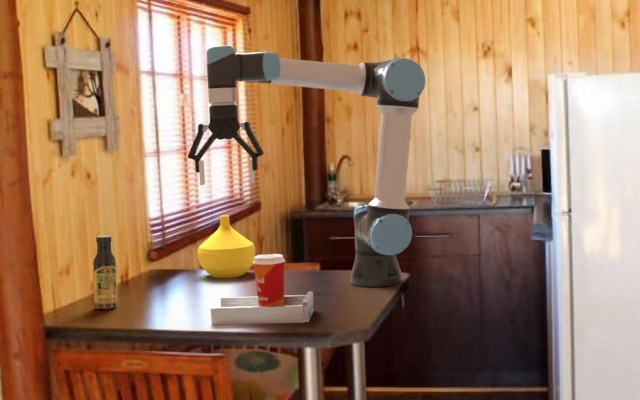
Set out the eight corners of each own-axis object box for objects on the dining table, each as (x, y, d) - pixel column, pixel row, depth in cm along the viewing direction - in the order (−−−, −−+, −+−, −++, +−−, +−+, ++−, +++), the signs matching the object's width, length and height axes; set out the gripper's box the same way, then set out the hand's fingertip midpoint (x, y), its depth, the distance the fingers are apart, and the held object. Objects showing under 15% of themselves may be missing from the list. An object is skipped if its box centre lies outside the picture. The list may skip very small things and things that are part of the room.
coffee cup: (255, 312, 241) (251, 254, 239) (287, 310, 242) (284, 252, 240) (255, 319, 233) (252, 259, 231) (288, 317, 233) (285, 257, 232)
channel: (313, 310, 243) (312, 291, 242) (308, 322, 230) (307, 302, 229) (222, 312, 245) (221, 293, 245) (211, 324, 232) (210, 304, 231)
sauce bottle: (97, 311, 253) (92, 238, 251) (92, 307, 259) (87, 236, 257) (121, 308, 256) (116, 236, 254) (115, 304, 262) (110, 233, 260)
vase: (225, 268, 313) (222, 211, 311) (268, 272, 302) (265, 213, 300) (186, 278, 298) (183, 218, 296) (230, 282, 287) (227, 220, 285)
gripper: (271, 102, 253) (275, 180, 256) (180, 106, 256) (185, 184, 258) (267, 102, 246) (271, 183, 248) (173, 106, 248) (178, 186, 250)
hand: (227, 183), depth 253 cm, fingers open, 13 cm apart
